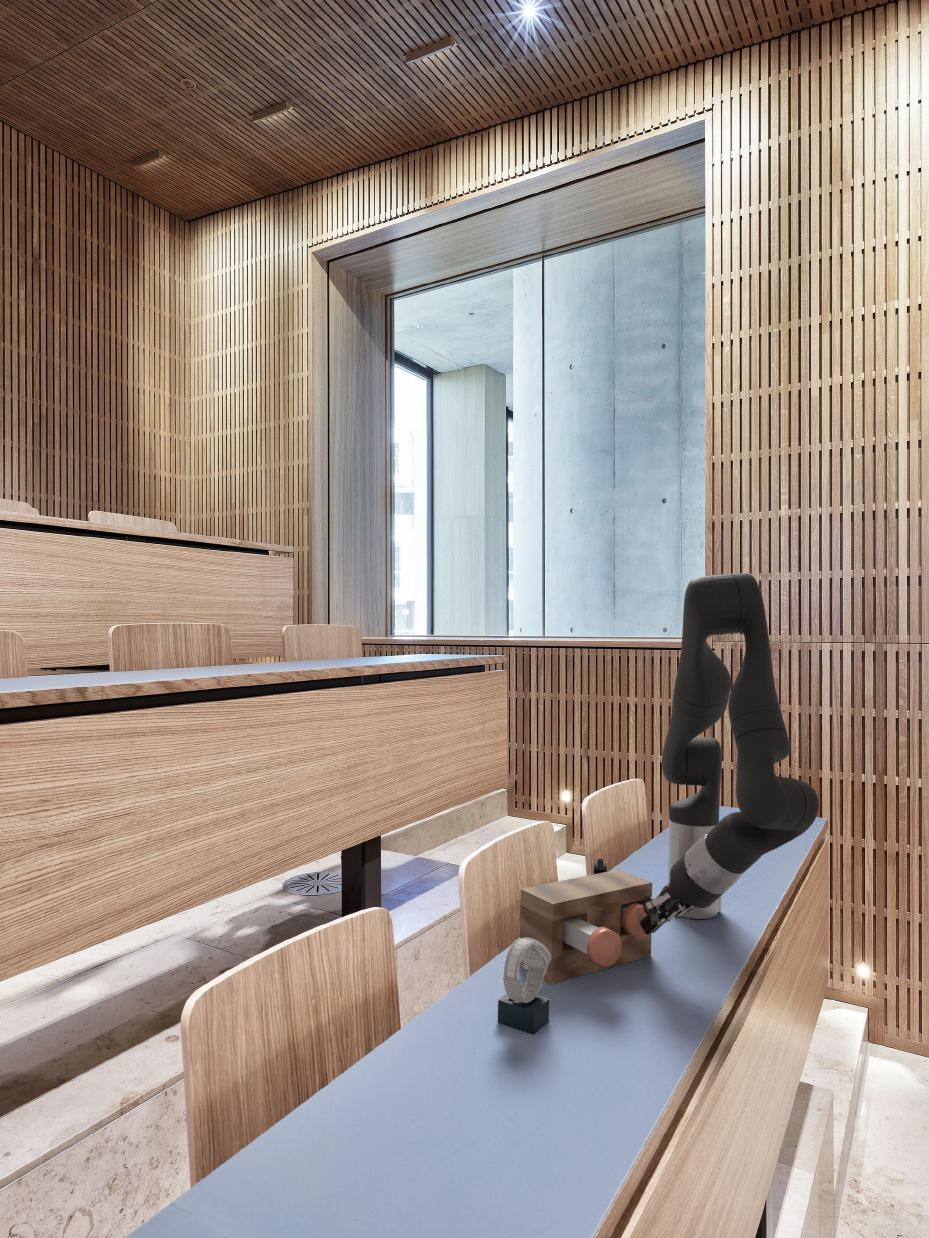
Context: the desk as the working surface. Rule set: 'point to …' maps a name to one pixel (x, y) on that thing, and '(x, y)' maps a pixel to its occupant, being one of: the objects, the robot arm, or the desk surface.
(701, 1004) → the desk surface
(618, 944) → the knob
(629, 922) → the knob
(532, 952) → the watch
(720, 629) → the robot arm
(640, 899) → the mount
